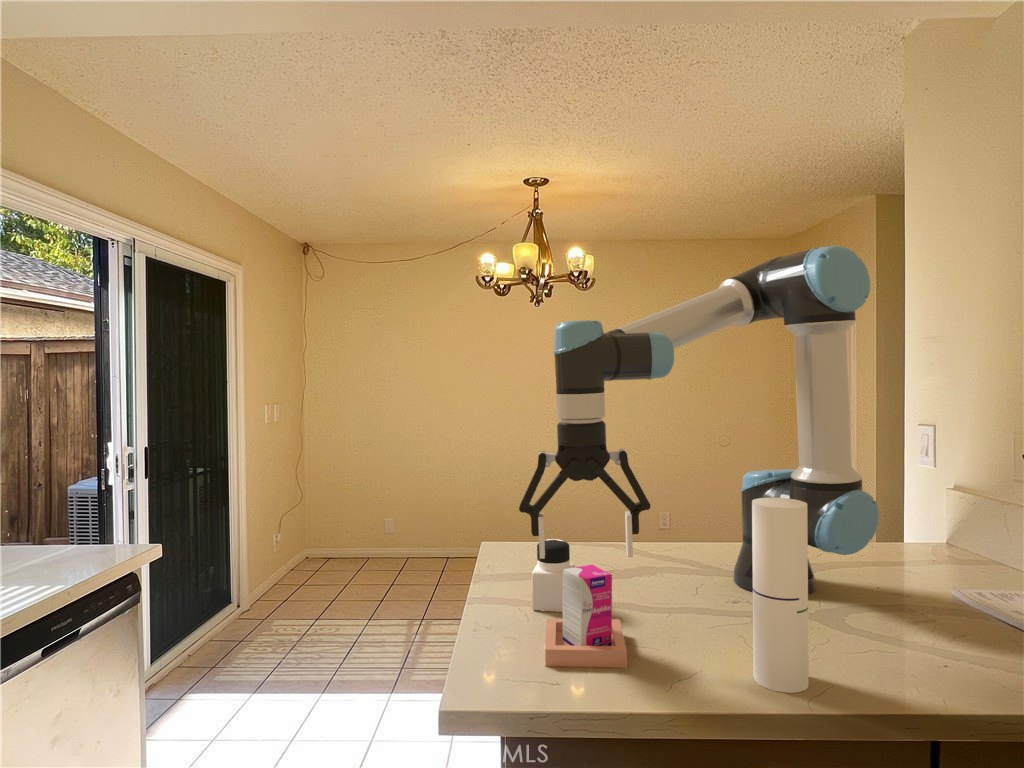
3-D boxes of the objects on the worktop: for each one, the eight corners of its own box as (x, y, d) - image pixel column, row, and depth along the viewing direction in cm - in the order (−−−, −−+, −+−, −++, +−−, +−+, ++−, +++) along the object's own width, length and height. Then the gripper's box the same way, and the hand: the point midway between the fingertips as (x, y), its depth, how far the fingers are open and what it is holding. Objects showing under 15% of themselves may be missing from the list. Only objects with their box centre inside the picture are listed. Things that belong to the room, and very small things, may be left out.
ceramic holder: (619, 634, 108) (619, 619, 108) (627, 667, 96) (626, 650, 96) (547, 633, 109) (547, 618, 109) (545, 666, 97) (545, 649, 97)
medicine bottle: (571, 613, 117) (570, 547, 117) (532, 611, 119) (530, 545, 118) (575, 599, 124) (574, 537, 124) (538, 597, 126) (537, 535, 125)
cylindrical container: (744, 669, 94) (743, 498, 94) (791, 667, 95) (790, 496, 94) (768, 694, 87) (766, 509, 87) (819, 691, 88) (817, 507, 87)
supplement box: (581, 654, 98) (580, 579, 98) (561, 640, 103) (560, 568, 103) (613, 646, 101) (612, 573, 100) (592, 632, 106) (591, 563, 106)
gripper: (658, 415, 104) (662, 547, 105) (503, 420, 106) (508, 549, 107) (666, 420, 97) (670, 561, 97) (499, 425, 99) (504, 563, 99)
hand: (585, 555), depth 102 cm, fingers open, 13 cm apart
